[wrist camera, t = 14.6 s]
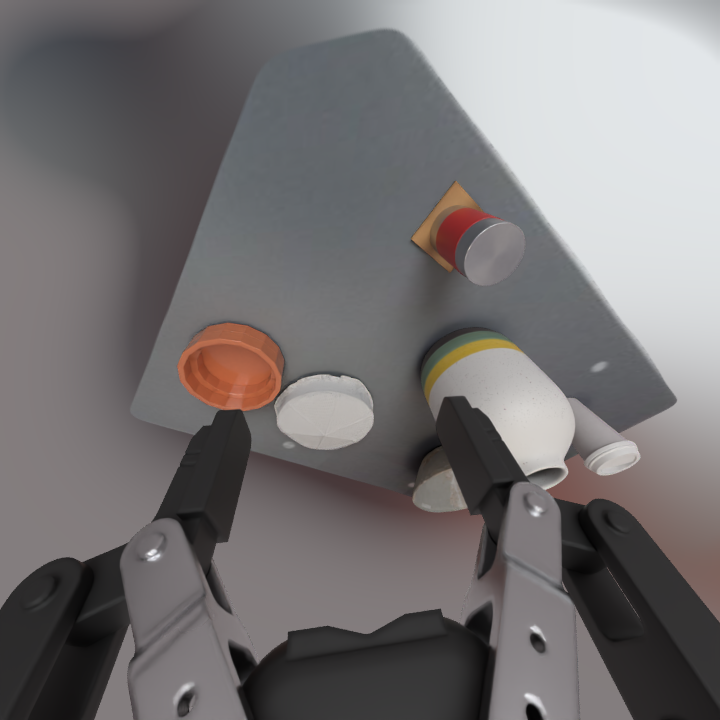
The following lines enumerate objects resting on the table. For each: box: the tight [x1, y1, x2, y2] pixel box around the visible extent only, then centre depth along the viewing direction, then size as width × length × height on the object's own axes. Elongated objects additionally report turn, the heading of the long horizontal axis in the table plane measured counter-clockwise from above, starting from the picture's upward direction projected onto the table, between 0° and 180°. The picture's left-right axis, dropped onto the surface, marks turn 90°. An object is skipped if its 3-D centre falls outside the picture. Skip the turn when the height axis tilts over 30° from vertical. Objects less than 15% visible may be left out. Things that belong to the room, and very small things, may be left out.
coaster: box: [411, 181, 483, 272], centre depth 35 cm, size 8×8×1 cm
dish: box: [177, 323, 284, 411], centre depth 42 cm, size 15×15×5 cm
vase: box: [420, 327, 575, 490], centre depth 40 cm, size 17×17×24 cm
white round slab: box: [274, 374, 374, 450], centre depth 51 cm, size 20×20×7 cm
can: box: [430, 205, 525, 286], centre depth 31 cm, size 6×6×11 cm
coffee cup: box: [567, 398, 641, 475], centre depth 57 cm, size 10×10×15 cm
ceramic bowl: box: [412, 446, 468, 512], centre depth 66 cm, size 22×23×10 cm
